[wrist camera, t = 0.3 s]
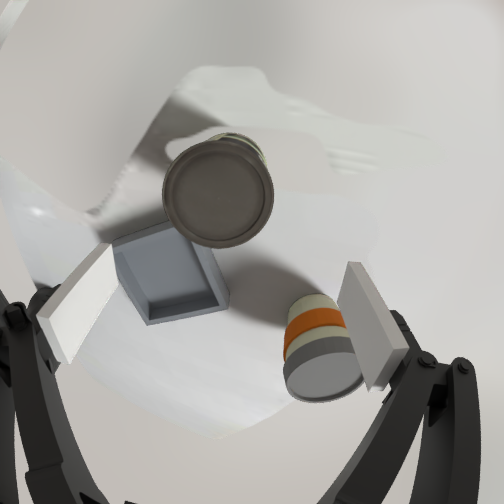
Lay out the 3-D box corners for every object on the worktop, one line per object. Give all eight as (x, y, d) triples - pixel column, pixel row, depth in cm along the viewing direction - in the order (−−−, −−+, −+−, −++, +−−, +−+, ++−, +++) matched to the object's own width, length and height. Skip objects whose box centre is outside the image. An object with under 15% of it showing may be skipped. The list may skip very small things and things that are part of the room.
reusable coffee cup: (266, 300, 48) (270, 369, 34) (337, 274, 45) (365, 337, 32) (291, 347, 53) (299, 411, 40) (352, 325, 51) (375, 386, 37)
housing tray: (152, 311, 49) (146, 325, 46) (114, 239, 43) (103, 251, 39) (229, 294, 47) (228, 309, 44) (196, 211, 41) (190, 221, 37)
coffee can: (267, 131, 35) (275, 140, 23) (266, 204, 40) (272, 249, 28) (190, 133, 35) (157, 144, 23) (194, 205, 40) (168, 249, 28)
